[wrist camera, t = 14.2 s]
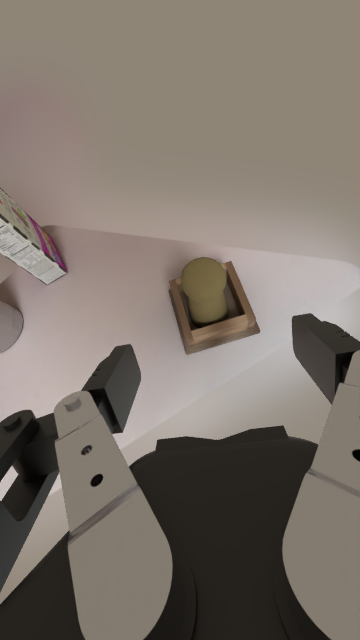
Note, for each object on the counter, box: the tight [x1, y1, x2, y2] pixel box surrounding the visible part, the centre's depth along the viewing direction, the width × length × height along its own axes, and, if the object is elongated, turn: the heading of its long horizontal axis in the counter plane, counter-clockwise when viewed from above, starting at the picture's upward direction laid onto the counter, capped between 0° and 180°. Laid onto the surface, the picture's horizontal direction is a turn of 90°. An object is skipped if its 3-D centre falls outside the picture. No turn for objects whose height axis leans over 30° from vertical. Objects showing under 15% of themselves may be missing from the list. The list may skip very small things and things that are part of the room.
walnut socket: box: [169, 261, 260, 355], centre depth 35 cm, size 11×11×4 cm
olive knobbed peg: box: [181, 257, 229, 328], centre depth 31 cm, size 6×6×11 cm
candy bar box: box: [0, 188, 68, 285], centre depth 39 cm, size 11×5×16 cm, turn 31°
